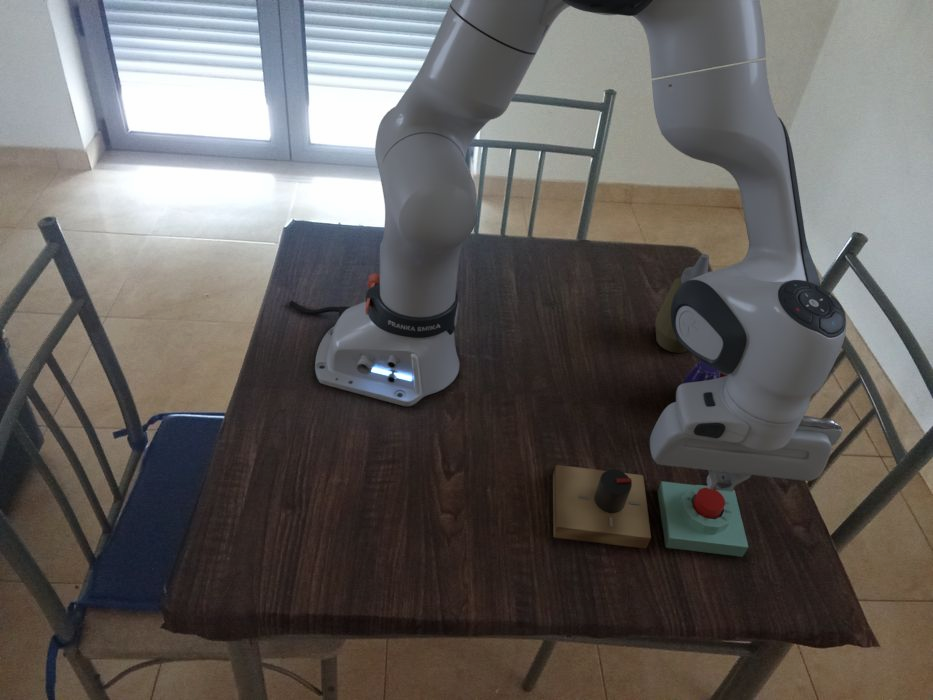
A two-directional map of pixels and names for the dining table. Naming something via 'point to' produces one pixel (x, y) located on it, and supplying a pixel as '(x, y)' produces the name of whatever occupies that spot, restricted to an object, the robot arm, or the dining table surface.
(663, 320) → the squeeze bottle
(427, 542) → the dining table surface
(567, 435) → the dining table surface
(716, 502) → the power button
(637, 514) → the dimmer panel
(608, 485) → the dimmer knob
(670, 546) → the switch block
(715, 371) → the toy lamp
